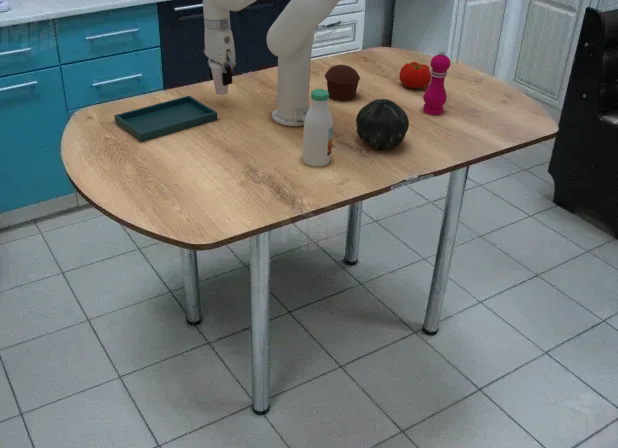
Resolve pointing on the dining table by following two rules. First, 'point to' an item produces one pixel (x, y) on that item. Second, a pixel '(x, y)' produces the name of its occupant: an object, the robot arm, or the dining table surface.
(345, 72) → the muffin
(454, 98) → the dining table surface
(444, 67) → the pepper mill
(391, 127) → the squash
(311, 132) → the milk bottle
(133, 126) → the tray
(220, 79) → the smoothie
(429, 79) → the tomato
